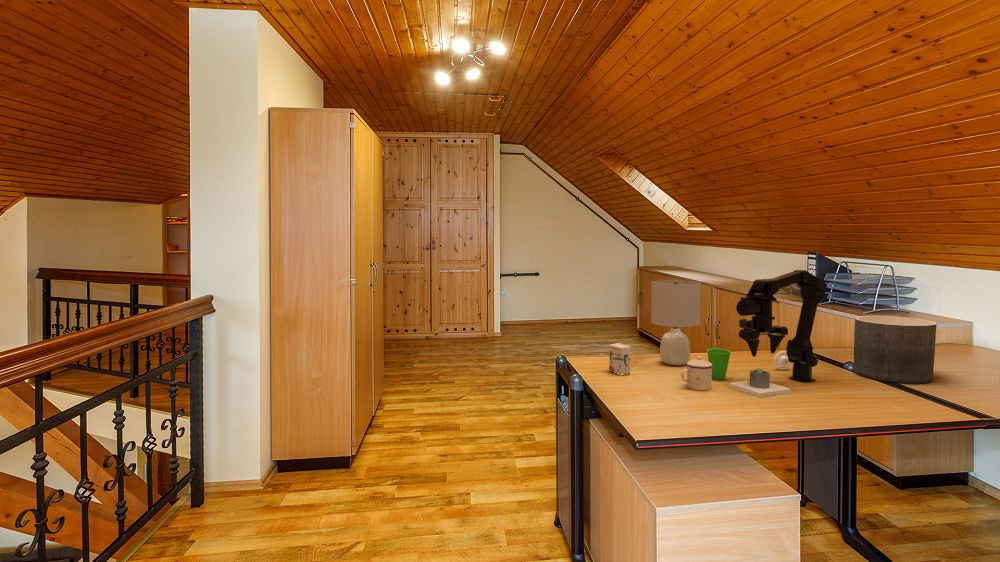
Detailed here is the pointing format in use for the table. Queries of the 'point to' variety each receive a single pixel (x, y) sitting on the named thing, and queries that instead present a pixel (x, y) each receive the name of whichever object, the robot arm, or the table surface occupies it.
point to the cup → (718, 362)
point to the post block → (759, 392)
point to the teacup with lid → (698, 374)
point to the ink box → (619, 358)
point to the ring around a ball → (781, 360)
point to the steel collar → (759, 379)
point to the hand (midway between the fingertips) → (763, 355)
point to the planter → (894, 349)
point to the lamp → (675, 316)
